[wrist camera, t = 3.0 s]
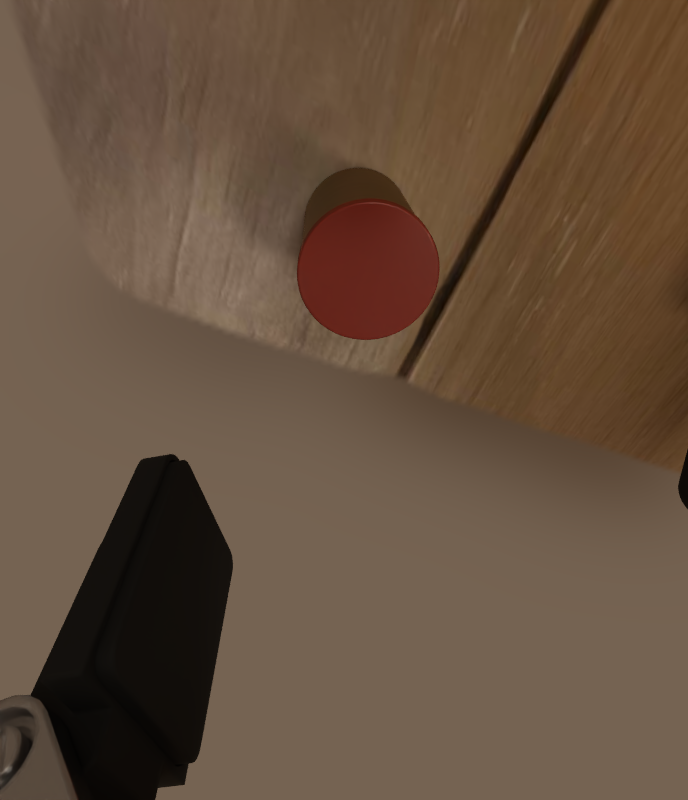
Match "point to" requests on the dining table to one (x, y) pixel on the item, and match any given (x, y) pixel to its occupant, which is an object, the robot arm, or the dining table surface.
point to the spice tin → (365, 257)
